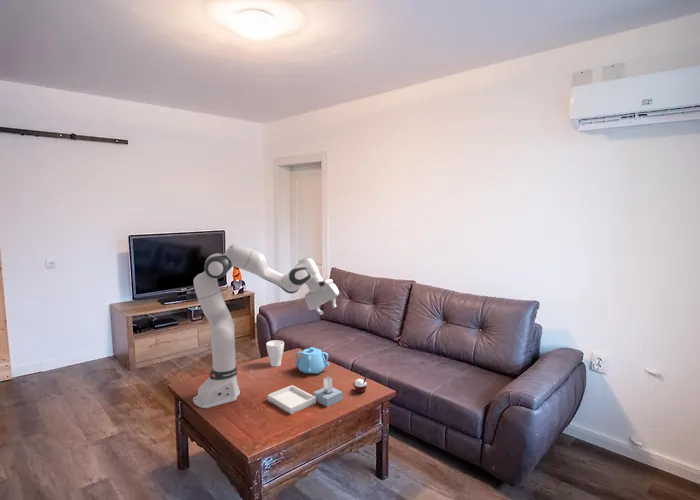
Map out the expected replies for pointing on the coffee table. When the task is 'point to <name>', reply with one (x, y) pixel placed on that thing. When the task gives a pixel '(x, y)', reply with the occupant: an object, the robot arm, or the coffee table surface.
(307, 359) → the decorative pot
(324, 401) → the socket block
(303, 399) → the tray
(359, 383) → the cocoa
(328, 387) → the pin
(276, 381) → the coffee table surface
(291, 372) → the coffee table surface
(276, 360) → the cup
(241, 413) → the coffee table surface
